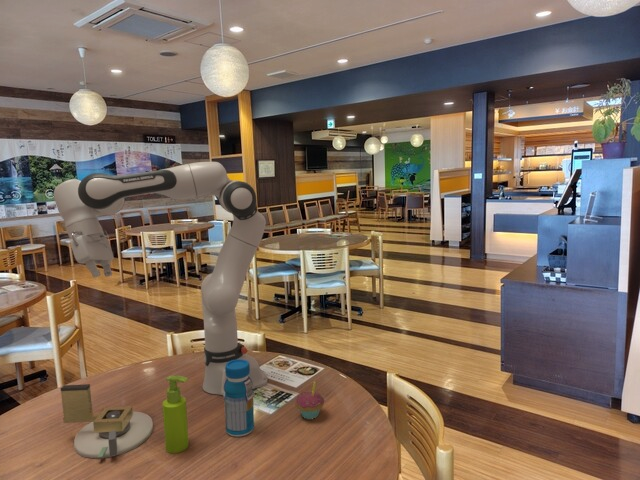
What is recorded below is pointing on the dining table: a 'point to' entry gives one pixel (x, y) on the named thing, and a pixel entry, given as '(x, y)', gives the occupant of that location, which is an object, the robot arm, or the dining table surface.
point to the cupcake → (309, 403)
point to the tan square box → (106, 434)
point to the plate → (123, 442)
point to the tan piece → (80, 410)
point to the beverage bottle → (238, 398)
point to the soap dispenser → (175, 417)
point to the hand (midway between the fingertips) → (103, 276)
